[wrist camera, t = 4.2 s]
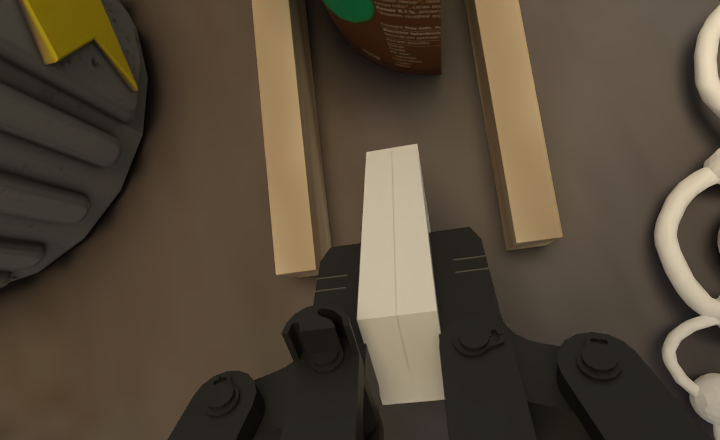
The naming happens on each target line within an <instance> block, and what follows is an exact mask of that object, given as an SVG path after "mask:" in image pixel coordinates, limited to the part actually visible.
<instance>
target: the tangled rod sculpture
mask: <svg viewBox="0 0 720 440" xmlns="http://www.w3.org/2000/svg"><path fill="white" fill-rule="evenodd" d="M719 39H720V5H719V6H718V7H717V8H716V9H715V10H714V11H713V12H712V13H711V14H710V15H709V16H708V18H707V19H706V21H705V23H704V25H703V27H702V28H701V30H700V32H699V34H698V37H697V42H696V47H695V53H694V71H695V85H696V87H697V89H698V92H699V94H700V96H701V99H702V101H703V102H704V103H705V104H706V105H707V106H708V107H709V108H710V109H711V110H712V111H713V112H714V113H715V114H716V115H717V116H718V117H719V118H720V80H719V77H718V70H717V52H718V45H719ZM714 184H720V148H719V149H718V150H717V151H716V152H715V153H714V154H712V155H711V156H710V157H709V158H708V159H707V160H706V161H705V162H704V166H703V168H702V169H699V170H697V171H695V172H694V173H692V174H691V175H689V176H688V177H687V178H685V179H684V180H682V181H681V182H679V183H678V185H677V186H676V187H675V188H674V189H673V190H672V192H671V193H670V194H669V195H668V196H667V197H666V200H665V202H664V204H663V207H662V209H661V211H660V213H659V216H658V218H657V220H656V224H655V229H654V241H655V247H656V249H657V252H658V255H659V257H660V260H661V263H662V265H663V268H664V271H665V273H666V274H667V276H668V278H669V280H670V281H671V283H672V285H673V286H674V288H675V290H676V292H677V293H678V294H679V296H680V297H681V298H682V299H683V300H684V302H685V303H686V304H687V305H688V306H689V307H690V308H691V309H693V310H694V311H695V312H697V313H698V314H699V315H701V316H698V317H695V318H692V319H689V320H686V321H684V322H683V323H682V324H680V325H679V326H677V327H676V328H675V329H673V330H672V331H670V332H669V333H668V335H667V337H666V339H665V341H664V344H663V347H662V349H661V350H662V358H663V361H664V364H665V366H666V367H667V369H668V370H669V372H670V373H671V375H672V376H673V378H674V380H675V382H676V383H678V384H679V385H680V386H681V387H682V388H684V389H685V390H686V391H687V392H688V393H690V396H689V398H690V402H691V404H692V406H693V408H694V410H695V412H696V413H697V414H698V415H699V416H700V417H701V418H703V419H704V420H706V421H707V422H709V423H711V424H713V432H714V437H715V440H720V374H719V373H708V374H705V375H701V376H700V377H698V378H697V379H695V381H694V382H693V381H692V380H691V379H690V378H689V377H687V376H686V374H685V373H684V371H683V370H682V368H681V367H680V365H679V364H678V362H677V357H676V350H677V348H678V346H679V344H680V342H681V340H682V339H684V338H685V337H687V336H689V335H690V334H692V333H693V332H695V331H697V330H700V329H704V328H707V327H710V326H714V325H718V326H719V328H720V296H719V297H718V298H717V299H714V298H711V297H710V295H709V294H708V293H707V292H706V291H705V290H704V289H703V287H702V286H701V285H700V284H699V283H698V282H697V281H696V279H695V278H694V277H693V274H692V272H691V270H690V268H689V266H688V264H687V262H686V260H685V258H684V256H683V254H682V252H681V250H680V246H679V242H678V239H677V230H678V225H679V223H680V220H681V218H682V216H683V214H684V211H685V209H686V207H687V205H688V204H689V203H690V202H691V201H692V200H693V198H694V197H695V196H696V195H698V194H699V193H700V192H702V191H703V190H705V189H706V188H708V187H710V186H712V185H714ZM718 248H719V252H720V229H719V232H718Z"/></svg>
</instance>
